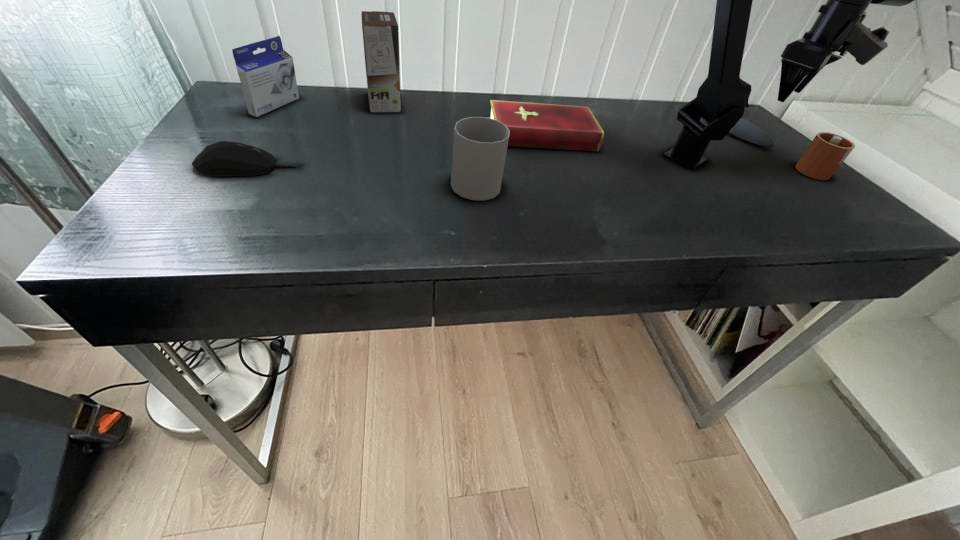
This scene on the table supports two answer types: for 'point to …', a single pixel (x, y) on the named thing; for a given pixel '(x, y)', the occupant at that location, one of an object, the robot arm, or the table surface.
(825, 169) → the pen cup
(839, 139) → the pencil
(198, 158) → the gaming mouse
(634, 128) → the table surface
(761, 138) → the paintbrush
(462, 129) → the cup
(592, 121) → the hardcover book
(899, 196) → the table surface
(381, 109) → the coffee box
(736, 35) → the robot arm
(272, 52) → the ink box
